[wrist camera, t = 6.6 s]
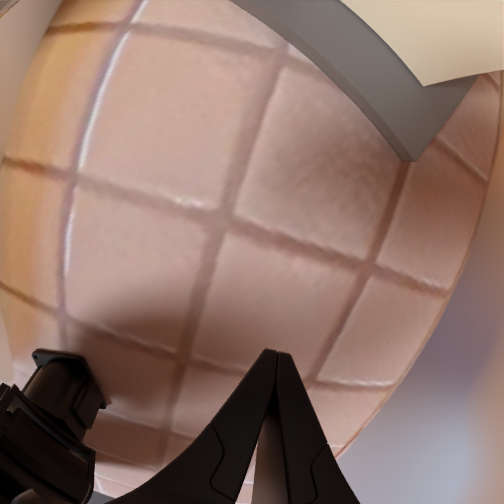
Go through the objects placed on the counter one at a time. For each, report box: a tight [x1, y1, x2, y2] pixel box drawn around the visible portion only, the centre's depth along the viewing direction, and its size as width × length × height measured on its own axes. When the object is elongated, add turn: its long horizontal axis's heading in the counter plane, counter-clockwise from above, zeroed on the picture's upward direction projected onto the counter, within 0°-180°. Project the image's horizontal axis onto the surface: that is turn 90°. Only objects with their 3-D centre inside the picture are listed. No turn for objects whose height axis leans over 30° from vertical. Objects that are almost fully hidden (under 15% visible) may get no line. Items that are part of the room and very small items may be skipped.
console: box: [229, 0, 479, 162], centre depth 12 cm, size 16×16×2 cm
